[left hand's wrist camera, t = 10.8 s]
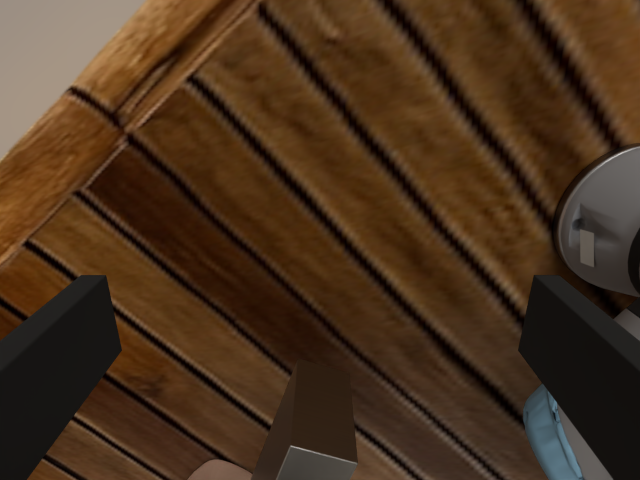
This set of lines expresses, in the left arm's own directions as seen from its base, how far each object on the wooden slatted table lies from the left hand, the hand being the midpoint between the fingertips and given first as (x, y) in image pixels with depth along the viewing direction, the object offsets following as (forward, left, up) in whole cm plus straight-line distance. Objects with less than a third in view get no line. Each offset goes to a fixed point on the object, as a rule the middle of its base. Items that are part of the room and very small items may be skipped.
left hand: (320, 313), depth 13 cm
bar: (-16, +21, -16) cm, 31 cm away
